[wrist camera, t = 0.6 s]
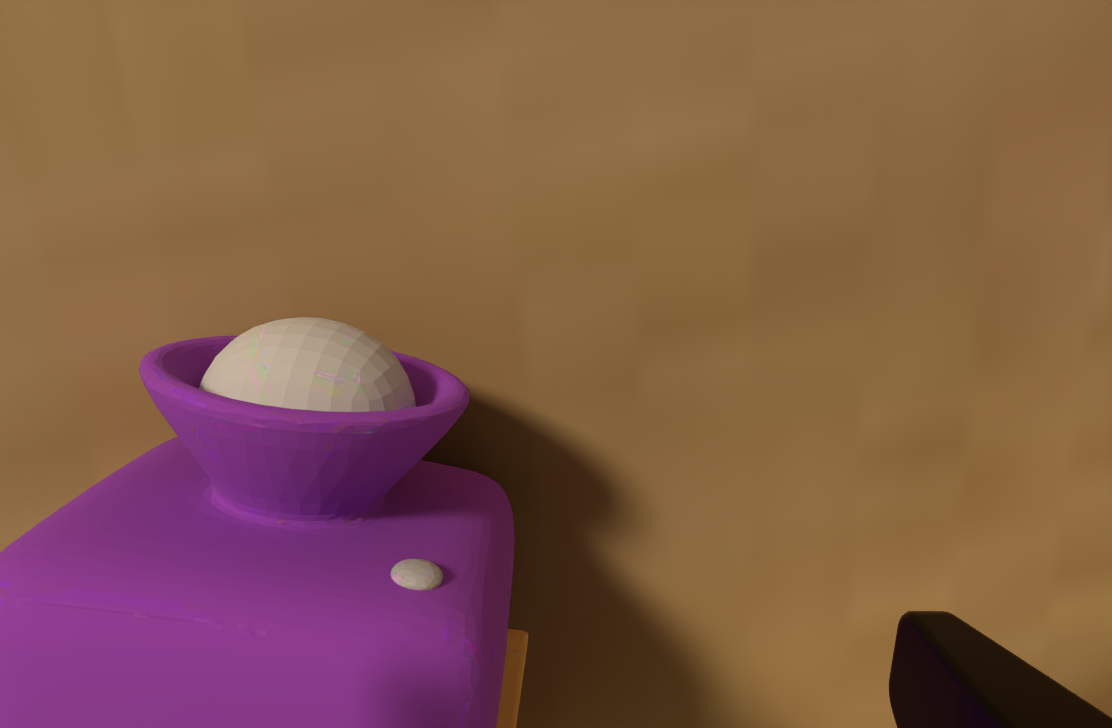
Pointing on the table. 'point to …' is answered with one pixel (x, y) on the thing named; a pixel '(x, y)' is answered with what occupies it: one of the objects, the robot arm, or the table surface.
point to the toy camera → (273, 555)
